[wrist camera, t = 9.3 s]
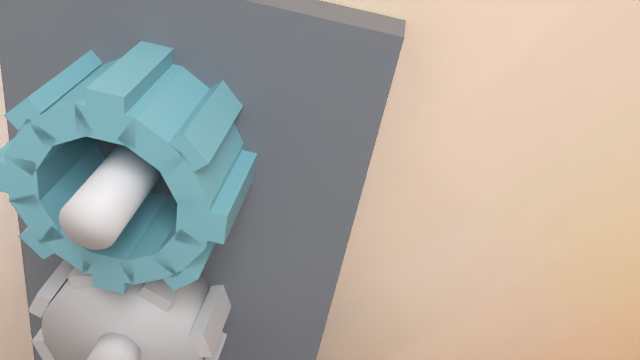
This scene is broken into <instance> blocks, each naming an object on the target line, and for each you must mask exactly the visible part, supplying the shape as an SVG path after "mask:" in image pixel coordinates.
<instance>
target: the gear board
mask: <svg viewBox="0 0 640 360" xmlns="http://www.w3.org/2000/svg"><path fill="white" fill-rule="evenodd" d="M404 31H405V20H400V19H396V18H392V17H387V16H383V15H379V14H375V13H370V12H366V11H362V10H357V9H353V8H349V7H345V6H340V5H336V4H332V3H327V2H323V1H319V0H0V64H1V72H2V81H3V90H4V99H5V107H6V113H8V112H9V111H10V110H11V109H13V108H14V107H15V106H17V105H18V104H19V103H21V102H22V101H23V100H25V99H26V98H27V97H28V96H30V95H31V94H32V93H34V92H35V91H36V90H38V89H39V88H41V87H42V86H43V85H45V84H46V83H47V82H49V81H50V80H51V79H53V78H54V77H55V76H57V75H58V74H59V73H61V72H62V71H63V70H65V69H66V68H67V67H69V66H70V65H71V64H73V63H74V62H75V61H77V60H78V59H79V58H81V57H82V56H83V55H85V54H86V53H87V52H89V51H90V50H92V51H93V52H94V53H95V54H96V56H97V57H98V58H99V59H100V60H101V61H102V64H104V63H107V62H110V61H114V60H117V59H120V58H122V57H123V56H124V55H125V54H126V53H127V52H129V51H130V50H131V49H132V48H133V47H134V46H136V45H137V44H138V43H139V42H140V41H144V42H148V43H153V44H157V45H161V46H166V47H170V48H174V55H173V64H175V65H179V66H183V67H184V68H185V69H186V70H187V71H189V72H190V73H191V74H192V75H194V76H195V77H196V78H197V79H199V80H200V81H201V82H202V83H204V84H205V85H206V86H207V87H209V88H211V87H213V86H214V85H216V84H217V83H219V82H220V81H222V80H223V81H224V82H225V83H226V85H227V86H228V87H229V89H230V90H231V91H232V93H233V94H234V95H235V96H236V98H237V99H238V100H239V102H240V103H241V104H242V105H243V107H242V109H241V110H240V112H239V114H238V115H237V117H236V119H235V120H234V124H235V126H236V128H237V130H238V133H239V135H240V137H241V139H242V141H243V147H242V150H245V151H249V152H253V153H257V159H256V166H255V173H254V179H253V182H252V184H251V186H250V188H249V190H248V193H247V195H246V197H245V199H244V201H243V204H242V206H241V208H240V210H239V212H238V215H237V217H236V219H235V221H234V223H233V226H232V228H231V230H230V232H229V234H228V237H227V239H226V241H225V243H224V244H219V243H215V245H214V247H213V249H212V251H211V253H210V255H209V257H208V260H207V262H206V264H205V266H204V268H203V270H202V272H201V274H200V276H199V279H198V280H196V281H194V282H192V283H190V284H188V285H185V286H183V287H181V288H179V289H177V290H175V291H173V290H172V289H171V288H170V287H169V286H168V285H167V284H166V282H165V281H164V280H163V279H160V280H155V281H150V282H144V283H139V284H134V285H132V284H130V286H129V287H128V289H127V291H126V292H125V294H121V293H117V292H113V291H109V290H105V289H100V288H96V287H93V275H91V274H87V273H83V272H82V271H80V270H79V269H77V268H76V267H74V266H73V265H71V264H70V263H68V262H67V261H65V260H64V259H62V258H61V257H59V256H58V255H56V254H55V253H54V254H52V255H50V256H49V257H47V258H45V259H42V258H41V257H40V256H39V255H38V254H37V253H36V252H35V251H34V250H33V249H32V248H31V247H29V246H28V245H27V244H26V243H25V242H24V241H23V240H22V239H21V246H22V255H23V264H24V273H25V281H26V290H27V299H28V307H29V310H28V311H29V316H30V325H31V333H32V341H31V342H32V343H33V351H34V360H316V356H317V353H318V349H319V345H320V342H321V338H322V334H323V331H324V327H325V323H326V320H327V316H328V312H329V309H330V305H331V301H332V298H333V294H334V291H335V287H336V283H337V280H338V276H339V272H340V269H341V265H342V261H343V258H344V254H345V250H346V247H347V243H348V240H349V236H350V232H351V229H352V225H353V221H354V218H355V214H356V210H357V207H358V203H359V199H360V196H361V192H362V188H363V185H364V181H365V178H366V174H367V170H368V167H369V163H370V159H371V156H372V152H373V148H374V145H375V141H376V137H377V134H378V130H379V126H380V123H381V119H382V116H383V112H384V108H385V105H386V101H387V97H388V94H389V90H390V86H391V83H392V79H393V75H394V72H395V68H396V65H397V61H398V57H399V54H400V50H401V46H402V43H403V39H404ZM7 125H8V133H9V141H11V140H12V139H13V138H14V137H16V135H17V133H18V132H19V130H20V129H21V128H20V129H19V130H17V129H16V128H15V127H14V126H13V125H12V124H11V123H10V122H9V121H8V119H7ZM96 144H97V146H98V147H99V149H100V151H101V153H102V154H103V156H104V158H105V160H104V161H103V163H102V164H101V165H100V166H99V167H98V168H97V169H96V170H95V172H94V173H93V174H92V175H91V176H90V177H89V178H88V179H87V181H86V182H85V183H84V184H83V185H82V186H81V187H80V188H79V190H78V191H77V192H76V193H75V194H74V195H73V196H72V197H71V199H70V200H69V201H68V202H67V203H66V204H65V205H64V206H63V208H62V209H61V211H60V213H59V222H60V225H61V228H62V230H63V231H64V233H65V234H66V235H67V236H68V237H69V238H70V239H71V240H72V241H73V242H75V243H76V244H78V245H80V246H82V247H85V248H88V249H92V250H102V249H106V248H108V247H110V246H111V245H112V244H113V243H114V242H115V241H116V239H117V238H118V236H119V235H120V234H121V232H122V231H123V229H124V228H125V226H126V225H127V224H128V222H129V221H130V219H131V218H132V217H133V215H134V214H135V212H136V211H137V209H138V208H139V207H140V205H141V204H142V202H143V201H144V199H145V198H146V197H147V195H148V194H149V192H154V193H159V194H163V195H167V196H169V195H172V193H171V191H170V189H169V187H168V186H167V184H166V182H165V180H164V178H163V176H162V175H161V173H160V171H159V170H157V169H156V168H155V167H153V166H152V165H151V164H149V163H148V162H147V161H145V160H144V159H143V158H141V157H140V156H139V155H137V154H136V153H135V152H133V151H132V150H131V149H129V148H128V147H127V146H124V145H120V144H116V143H111V142H107V141H103V140H99V139H96ZM18 220H19V229H20V234H21V233H22V232H23V231H24V230H25V229H26V228H27V227H28V226H27V225H26V223H25V222H24V221H23V219H22V218H21V216H20V215H19V214H18Z"/></svg>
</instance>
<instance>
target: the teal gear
mask: <svg viewBox="0 0 640 360" xmlns="http://www.w3.org/2000/svg"><path fill="white" fill-rule="evenodd" d="M173 55H174V48H170V47H166V46H161V45H157V44H153V43H148V42H144V41H140V42H139V43H138V44H137V45H136V46H134V47H133V48H132V49H131V50H130V51H129V52H127V53H126V54H125V55H124V56H123V57H122V58H120V59H117V60H114V61H110V62H107V63H104V64H102V61H101V60H100V59H99V58H98V57H97V56H96V54H95V53H94V52H93V51H92V50H90V51H89V52H87V53H86V54H85V55H83V56H82V57H81V58H79V59H78V60H77V61H75V62H74V63H73V64H71V65H70V66H69V67H67V68H66V69H65V70H63V71H62V72H61V73H59V74H58V75H57V76H55V77H54V78H53V79H51V80H50V81H49V82H47V83H46V84H45V85H43V86H42V87H41V88H39V89H38V90H36V91H35V92H34V93H32V94H31V95H30V96H28V97H27V98H26V99H25V100H23V101H22V102H21V103H19V104H18V105H17V106H15V107H14V108H13V109H11V110H10V111H9V112H8V113H6V114H5V115H4V116H5V117H6V118H7V119H8V121H9V122H10V123H11V124H12V125H13V126H14V127H15V128H16V129H17V130H19V129H20V128H21V129H20V130H19V132H18V133H17V135H16V137H14V138H13V139H12V140H11V141H9V142H8V143H7V144H6V145H5V146H3V147H2V148H1V149H0V191H2V192H6V193H9V201H10V202H11V204H12V205H13V206H14V208H15V209H16V211H17V212H18V214H19V215H20V216H21V218H22V219H23V221H24V222H25V223H26V225H27V226H28V227H27V228H26V229H25V230H24V231H23V232H22V233H21V234H20V235H19V237H20V238H21V239H22V240H23V241H24V242H25V243H26V244H27V245H28V246H29V247H31V248H32V249H33V250H34V251H35V252H36V253H37V254H38V255H39V256H40V257H41V258H42V259H45V258H47V257H49V256H50V255H52V254H54V253H55V254H56V255H58V256H59V257H61V258H62V259H64V260H65V261H67V262H68V263H70V264H71V265H73V266H74V267H76V268H77V269H79V270H80V271H82V272H83V273H87V274H91V275H93V287H96V288H100V289H105V290H109V291H113V292H117V293H121V294H125V292H126V291H127V289H128V287H129V286H130V284H132V285H134V284H139V283H144V282H150V281H155V280H160V279H163V280H164V281H165V282H166V284H167V285H168V286H169V287H170V288H171V289H172V290H173V291H175V290H177V289H179V288H181V287H183V286H185V285H188V284H190V283H192V282H194V281H196V280H198V279H199V276H200V274H201V272H202V270H203V268H204V266H205V264H206V262H207V260H208V257H209V255H210V253H211V251H212V249H213V247H214V245H215V243H219V244H224V243H225V241H226V239H227V237H228V234H229V232H230V230H231V228H232V226H233V223H234V221H235V219H236V217H237V215H238V212H239V210H240V208H241V206H242V204H243V201H244V199H245V197H246V195H247V193H248V190H249V188H250V186H251V184H252V182H253V179H254V173H255V166H256V159H257V153H253V152H249V151H245V150H242V147H243V141H242V139H241V137H240V135H239V133H238V130H237V128H236V126H235V124H234V120H235V119H236V117H237V115H238V114H239V112H240V110H241V109H242V107H243V105H242V104H241V103H240V102H239V100H238V99H237V98H236V96H235V95H234V94H233V93H232V91H231V90H230V89H229V87H228V86H227V85H226V83H225V82H224V81H223V80H222V81H220V82H219V83H217V84H216V85H214V86H213V87H211V88H209V87H207V86H206V85H205V84H204V83H202V82H201V81H200V80H199V79H197V78H196V77H195V76H194V75H192V74H191V73H190V72H189V71H187V70H186V69H185V68H184V67H183V66H179V65H175V64H173ZM96 139H99V140H103V141H107V142H111V143H116V144H120V145H124V146H127V147H128V148H129V149H131V150H132V151H133V152H135V153H136V154H137V155H139V156H140V157H141V158H143V159H144V160H145V161H147V162H148V163H149V164H151V165H152V166H153V167H155V168H156V169H157V170H159V171H160V173H161V175H162V176H163V178H164V180H165V182H166V184H167V186H168V187H169V189H170V191H171V193H172V195H169V196H167V195H163V194H159V193H154V192H149V194H148V195H147V197H146V198H145V199H144V201H143V202H142V204H141V205H140V207H139V208H138V209H137V211H136V212H135V214H134V215H133V217H132V218H131V219H130V221H129V222H128V224H127V225H126V226H125V228H124V229H123V231H122V232H121V234H120V235H119V236H118V238H117V239H116V241H115V242H114V243H113V244H112V245H111V246H110V247H108V248H106V249H102V250H92V249H88V248H85V247H82V246H80V245H78V244H76V243H75V242H73V241H72V240H71V239H70V238H69V237H68V236H67V235H66V234H65V233H64V231H63V230H62V228H61V225H60V222H59V213H60V211H61V209H62V208H63V206H64V205H65V204H66V203H67V202H68V201H69V200H70V199H71V197H72V196H73V195H74V194H75V193H76V192H77V191H78V190H79V188H80V187H81V186H82V185H83V184H84V183H85V182H86V181H87V179H88V178H89V177H90V176H91V175H92V174H93V173H94V172H95V170H96V169H97V168H98V167H99V166H100V165H101V164H102V163H103V161H104V160H105V158H104V156H103V154H102V153H101V151H100V149H99V147H98V146H97V144H96Z"/></svg>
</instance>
